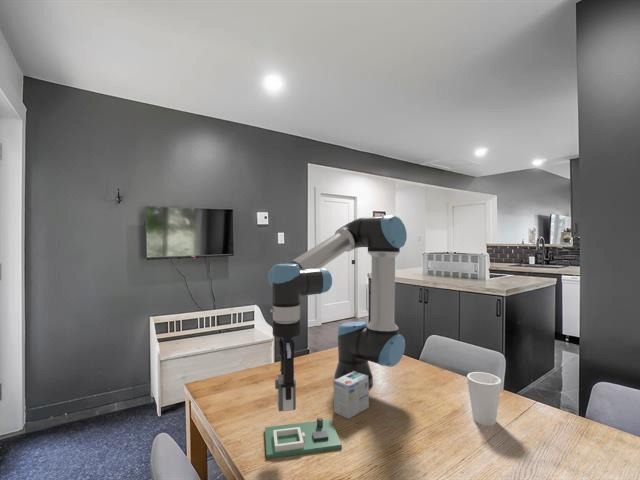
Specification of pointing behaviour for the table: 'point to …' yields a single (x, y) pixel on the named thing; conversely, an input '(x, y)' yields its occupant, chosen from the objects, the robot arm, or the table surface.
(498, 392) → the foam cup
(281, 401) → the block
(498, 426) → the table surface
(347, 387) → the light bulb box
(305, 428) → the board
